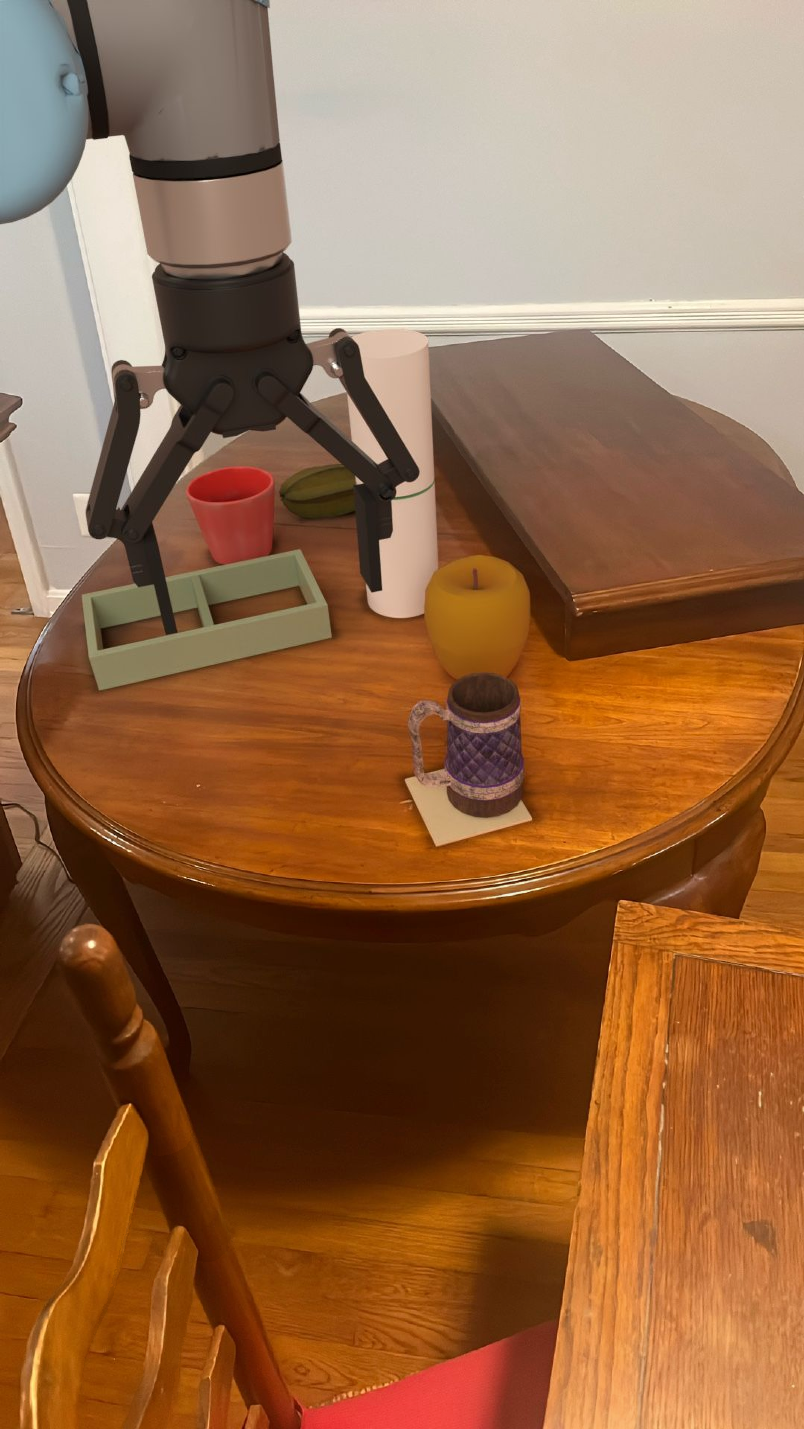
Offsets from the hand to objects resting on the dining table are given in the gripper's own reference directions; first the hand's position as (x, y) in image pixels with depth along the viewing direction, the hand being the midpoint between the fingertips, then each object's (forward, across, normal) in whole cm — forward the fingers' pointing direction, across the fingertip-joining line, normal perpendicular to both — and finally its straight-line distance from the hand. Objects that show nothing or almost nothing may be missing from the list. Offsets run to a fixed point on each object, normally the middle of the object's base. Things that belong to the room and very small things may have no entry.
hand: (272, 602), depth 65 cm
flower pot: (+28, -5, -60) cm, 66 cm away
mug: (+28, -16, -6) cm, 33 cm away
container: (+28, -21, -40) cm, 54 cm away
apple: (+28, -24, -24) cm, 44 cm away
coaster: (+28, -16, -6) cm, 33 cm away
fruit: (+28, -19, -66) cm, 74 cm away
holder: (+28, +2, -43) cm, 51 cm away
